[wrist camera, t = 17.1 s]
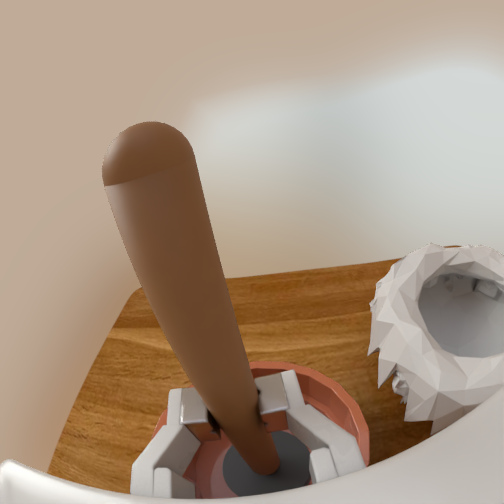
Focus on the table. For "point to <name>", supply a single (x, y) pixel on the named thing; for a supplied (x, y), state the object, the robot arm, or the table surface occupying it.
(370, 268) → the table surface
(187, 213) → the plunger
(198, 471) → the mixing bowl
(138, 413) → the table surface
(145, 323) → the table surface
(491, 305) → the bowl
